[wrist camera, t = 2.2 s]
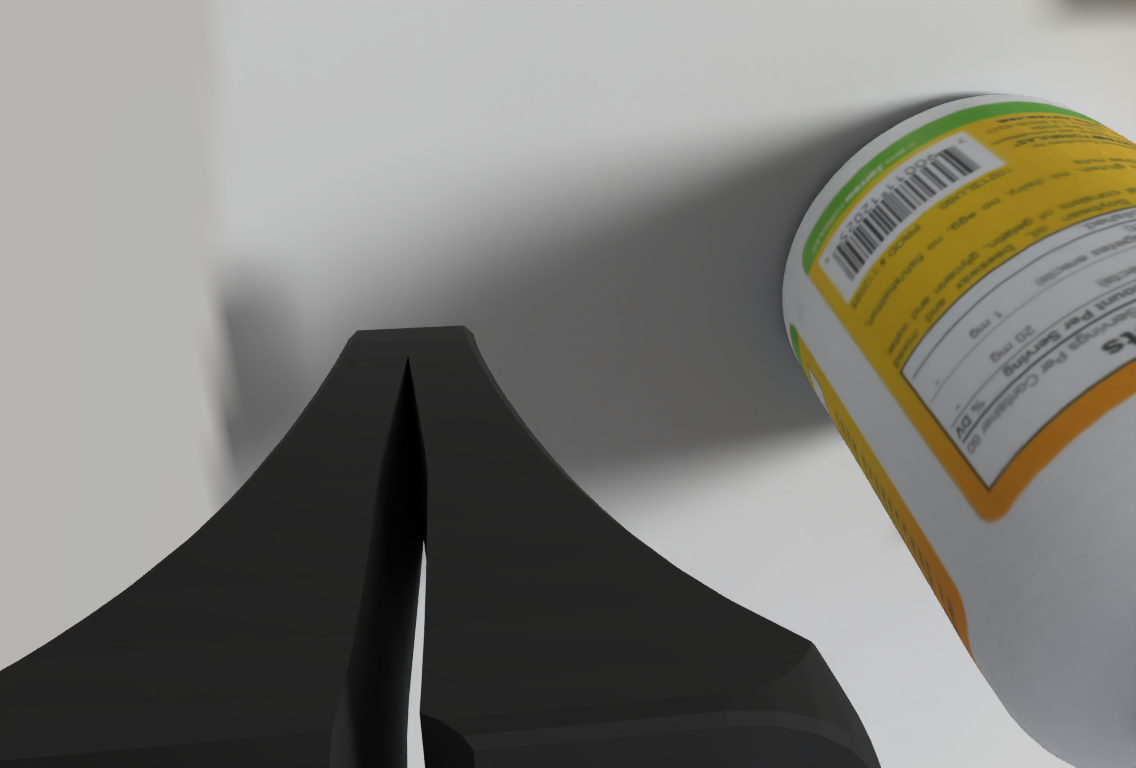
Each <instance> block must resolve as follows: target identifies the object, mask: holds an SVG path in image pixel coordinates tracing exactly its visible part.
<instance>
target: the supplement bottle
mask: <svg viewBox="0 0 1136 768" xmlns="http://www.w3.org/2000/svg"><path fill="white" fill-rule="evenodd" d="M782 300H783V315H784V321H785V326H786V331H787V335H788V338H789V342H790V344H791V347H792V349H793V352H794V354H795V356H796V359H797V360H798V362H799V364H800V366H801V368H802V370H803V372H804V373H805V375H806V377H807V379H808V381H809V383H810V384H811V386H812V388H813V390H814V391H815V393H816V395H817V396H818V398H819V400H820V401H821V403H822V404H823V406H824V408H825V409H826V411H827V412H828V414H829V416H830V417H831V419H832V420H833V422H834V424H835V425H836V427H837V429H838V431H839V433H840V434H841V436H842V438H843V439H844V441H845V443H846V444H847V446H848V447H849V449H850V451H851V452H852V454H853V456H854V457H855V459H856V461H857V463H858V464H859V466H860V467H861V469H862V471H863V472H864V474H865V476H866V478H867V479H868V481H869V482H870V484H871V486H872V488H873V489H874V491H875V493H876V494H877V496H878V498H879V500H880V501H881V503H882V505H883V506H884V508H885V510H886V512H887V513H888V515H889V517H890V518H891V520H892V522H893V524H894V525H895V527H896V529H897V530H898V532H899V534H900V535H901V537H902V539H903V540H904V542H905V544H906V546H907V547H908V549H909V551H910V552H911V554H912V556H913V558H914V559H915V561H916V563H917V564H918V566H919V568H920V570H921V571H922V573H923V575H924V576H925V578H926V580H927V582H928V583H929V585H930V587H931V589H932V590H933V592H934V594H935V596H936V597H937V599H938V601H939V602H940V604H941V606H942V607H943V609H944V611H945V613H946V614H947V616H948V618H949V620H950V621H951V623H952V625H953V627H954V628H955V630H956V632H957V634H958V635H959V637H960V639H961V640H962V642H963V644H964V646H965V647H966V649H967V651H968V652H969V654H970V656H971V657H972V659H973V660H974V662H975V664H976V665H977V667H978V668H979V670H980V672H981V673H982V674H983V676H984V677H985V679H986V680H987V682H988V683H989V685H990V686H991V688H992V689H993V691H994V692H995V694H996V695H997V697H998V698H999V700H1000V701H1001V703H1002V704H1003V705H1004V707H1005V708H1006V710H1007V711H1008V713H1009V714H1010V716H1011V717H1012V718H1013V719H1014V720H1015V721H1016V722H1017V724H1018V725H1019V726H1020V727H1021V728H1022V729H1023V730H1024V731H1025V732H1026V733H1027V734H1028V735H1029V736H1030V737H1031V738H1033V739H1034V740H1035V741H1036V742H1037V743H1039V744H1040V745H1041V746H1042V747H1043V748H1044V749H1046V750H1047V751H1048V752H1050V753H1051V754H1053V755H1054V756H1056V757H1057V758H1059V759H1061V760H1063V761H1065V762H1067V763H1069V764H1071V765H1073V766H1075V767H1077V768H1136V144H1135V143H1133V142H1131V141H1130V140H1128V139H1126V138H1124V137H1123V136H1121V135H1119V134H1118V133H1116V132H1114V131H1113V130H1111V129H1109V128H1107V127H1106V126H1104V125H1102V124H1101V123H1099V122H1097V121H1095V120H1093V119H1091V118H1089V117H1087V116H1085V115H1084V114H1082V113H1080V112H1077V111H1075V110H1073V109H1071V108H1069V107H1066V106H1064V105H1061V104H1059V103H1055V102H1052V101H1048V100H1045V99H1041V98H1035V97H1029V96H1023V95H1007V94H995V95H982V96H975V97H969V98H964V99H959V100H955V101H952V102H948V103H944V104H942V105H939V106H936V107H933V108H931V109H928V110H926V111H924V112H921V113H919V114H917V115H915V116H913V117H911V118H909V119H907V120H905V121H903V122H901V123H899V124H898V125H896V126H894V127H893V128H891V129H889V130H888V131H886V132H884V133H883V134H881V135H880V136H878V137H877V138H875V139H874V140H872V141H871V142H870V143H868V144H867V145H866V146H864V147H863V148H862V149H861V150H860V151H858V152H857V153H856V154H855V155H854V156H853V157H851V158H850V159H849V160H848V161H847V162H846V163H845V164H844V165H843V166H842V167H841V168H840V169H839V170H838V171H837V172H836V174H835V175H834V176H833V177H832V178H831V179H830V181H829V182H828V183H827V184H826V185H825V187H824V188H823V189H822V190H821V192H820V193H819V194H818V195H817V197H816V198H815V200H814V201H813V203H812V204H811V206H810V208H809V209H808V211H807V212H806V214H805V216H804V218H803V220H802V222H801V224H800V226H799V228H798V230H797V232H796V235H795V238H794V240H793V243H792V246H791V249H790V252H789V256H788V259H787V263H786V268H785V274H784V280H783V293H782Z"/></svg>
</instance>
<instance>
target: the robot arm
mask: <svg viewBox="0 0 1136 768" xmlns="http://www.w3.org/2000/svg"><path fill="white" fill-rule="evenodd" d="M423 541H424V545H425V552H426V560H427V561H426V596H425V625H424V646H423V665H422V684H421V699H420V721H421V731H422V741H423V751H424V761H425V768H881V766H880V763H879V761H878V758H877V755H876V753H875V750H874V748H873V745H872V743H871V740H870V738H869V736H868V734H867V732H866V730H865V728H864V726H863V724H862V722H861V720H860V718H859V716H858V714H857V712H856V711H855V709H854V707H853V706H852V704H851V702H850V701H849V699H848V697H847V696H846V694H845V692H844V691H843V689H842V687H841V686H840V684H839V683H838V681H837V679H836V678H835V676H834V675H833V673H832V671H831V670H830V668H829V667H828V665H827V663H826V662H825V660H824V659H823V657H822V656H821V654H820V652H819V651H818V649H817V648H816V646H815V645H814V644H813V643H812V642H811V641H809V640H807V639H805V638H803V637H801V636H799V635H797V634H796V633H794V632H792V631H790V630H788V629H786V628H784V627H782V626H780V625H778V624H776V623H774V622H772V621H770V620H768V619H766V618H764V617H762V616H760V615H758V614H756V613H754V612H752V611H750V610H748V609H746V608H744V607H742V606H740V605H739V604H737V603H735V602H733V601H731V600H729V599H727V598H726V597H724V596H722V595H721V594H719V593H717V592H716V591H714V590H713V589H711V588H709V587H708V586H706V585H704V584H703V583H701V582H700V581H698V580H696V579H695V578H693V577H691V576H690V575H688V574H687V573H685V572H683V571H682V570H680V569H679V568H677V567H676V566H674V565H673V564H672V563H670V562H669V561H668V560H666V559H665V558H663V557H662V556H661V555H659V554H658V553H657V552H655V551H654V550H653V549H651V548H650V547H649V546H647V545H646V544H645V543H643V542H642V541H641V540H639V539H638V538H637V537H635V536H634V535H632V534H631V533H630V532H628V531H627V530H626V529H625V528H624V527H623V526H622V525H620V524H619V523H618V522H617V521H616V520H615V519H613V518H612V517H611V516H610V515H609V514H608V513H607V512H605V511H604V510H603V509H602V508H601V507H600V506H599V505H598V504H597V503H596V502H595V501H594V500H593V499H592V498H591V497H589V496H588V495H587V494H586V493H585V492H584V491H583V490H582V489H581V488H580V487H579V486H578V485H577V484H576V483H575V482H574V481H573V480H572V479H571V478H570V477H569V475H568V474H567V473H566V472H565V471H564V470H563V469H562V468H561V467H560V466H559V465H558V463H557V462H556V461H555V460H554V459H553V458H552V456H551V455H550V454H549V453H548V452H547V451H546V449H545V448H544V447H543V446H542V445H541V443H540V442H539V441H538V440H537V439H536V437H535V436H534V435H533V433H532V432H531V431H530V430H529V428H528V427H527V426H526V424H525V423H524V422H523V420H522V419H521V417H520V416H519V415H518V413H517V412H516V410H515V409H514V408H513V406H512V405H511V403H510V402H509V401H508V399H507V398H506V396H505V395H504V393H503V392H502V390H501V389H500V387H499V385H498V384H497V382H496V381H495V379H494V377H493V375H492V374H491V372H490V370H489V369H488V367H487V365H486V363H485V361H484V359H483V357H482V355H481V353H480V351H479V349H478V347H477V344H476V342H475V339H474V335H473V333H471V332H470V331H469V330H468V329H467V328H466V327H465V326H444V327H423V328H402V329H381V330H360V331H357V332H356V333H355V334H354V335H353V336H352V337H351V338H350V339H349V340H348V342H347V343H346V345H345V347H344V349H343V351H342V353H341V354H340V356H339V358H338V360H337V361H336V363H335V365H334V366H333V368H332V369H331V371H330V373H329V374H328V376H327V377H326V379H325V380H324V382H323V383H322V385H321V386H320V388H319V390H318V391H317V393H316V394H315V395H314V397H313V398H312V400H311V401H310V402H309V404H308V405H307V407H306V408H305V409H304V411H303V412H302V413H301V415H300V416H299V418H298V419H297V420H296V422H295V423H294V425H293V426H292V427H291V429H290V430H289V431H288V433H287V434H286V435H285V436H284V438H283V439H282V440H281V441H280V442H279V444H278V445H277V446H276V447H275V448H274V450H273V451H272V452H271V453H270V454H269V456H268V457H267V458H266V459H265V460H264V462H263V463H262V464H261V465H260V466H259V468H258V469H257V470H256V471H255V472H254V474H253V475H252V476H251V477H250V478H249V479H248V480H247V481H246V483H245V484H244V485H243V486H242V487H241V488H240V489H239V490H238V491H237V492H236V493H235V494H234V495H233V496H232V498H231V499H230V500H229V501H228V502H227V503H226V504H225V505H224V506H223V507H222V508H221V509H220V510H219V511H218V512H217V513H216V514H215V515H214V516H212V517H211V518H210V519H209V520H208V521H207V522H206V523H205V524H204V525H203V526H202V527H201V528H200V529H199V530H198V531H197V532H196V533H195V534H194V535H193V536H191V537H190V538H189V539H188V540H187V541H186V542H184V543H183V544H182V545H181V546H179V547H178V548H177V549H176V550H175V551H173V552H172V553H171V554H169V555H168V556H167V557H166V558H165V559H163V560H162V561H161V562H160V563H158V564H157V565H156V566H155V567H153V568H152V569H151V570H150V571H148V572H147V573H146V574H145V575H143V577H141V578H140V579H139V580H137V581H136V582H135V583H134V584H133V585H131V586H130V587H128V588H127V589H126V590H124V591H123V592H122V593H120V594H119V595H117V596H116V597H115V598H113V599H112V600H111V601H109V602H107V603H106V604H105V605H103V606H102V607H101V608H99V609H98V610H96V611H95V612H93V613H92V614H90V615H89V616H88V617H86V618H85V619H83V620H82V621H80V622H79V623H77V624H75V625H74V626H72V627H71V628H69V629H68V630H66V631H65V632H63V633H62V634H60V635H59V636H57V637H56V638H54V639H52V640H51V641H49V642H48V643H46V644H45V645H43V646H42V647H40V648H38V649H37V650H35V651H33V652H32V653H30V654H29V655H27V656H25V657H24V658H22V659H20V660H19V661H17V662H15V663H14V664H12V665H10V666H8V667H6V668H5V669H3V670H1V671H0V768H407V726H408V706H409V692H410V681H411V671H412V660H413V649H414V639H415V628H416V618H417V607H418V596H419V586H420V575H421V564H422V553H423Z"/></svg>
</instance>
